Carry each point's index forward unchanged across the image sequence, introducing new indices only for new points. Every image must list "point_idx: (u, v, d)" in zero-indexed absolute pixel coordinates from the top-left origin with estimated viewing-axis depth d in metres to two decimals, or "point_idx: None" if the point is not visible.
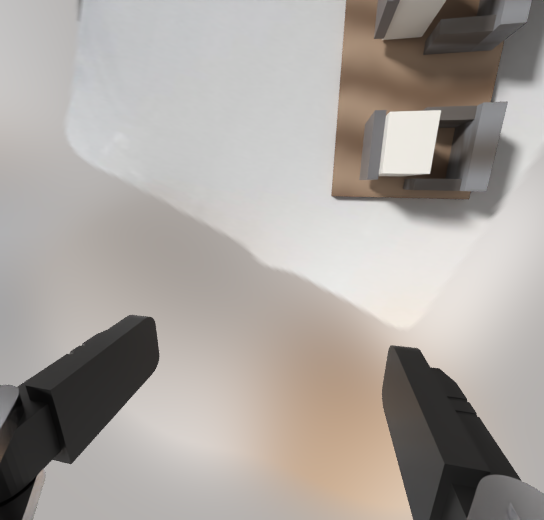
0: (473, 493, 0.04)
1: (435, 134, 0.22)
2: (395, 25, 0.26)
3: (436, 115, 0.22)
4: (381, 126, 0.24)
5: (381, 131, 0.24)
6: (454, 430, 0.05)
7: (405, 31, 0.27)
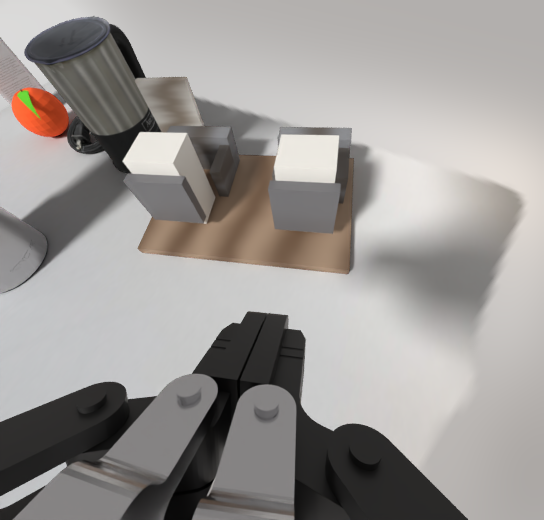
0: None
1: (301, 135, 0.23)
2: (200, 203, 0.29)
3: (285, 136, 0.23)
4: (284, 183, 0.22)
5: (289, 183, 0.22)
6: (264, 363, 0.07)
7: (207, 202, 0.30)
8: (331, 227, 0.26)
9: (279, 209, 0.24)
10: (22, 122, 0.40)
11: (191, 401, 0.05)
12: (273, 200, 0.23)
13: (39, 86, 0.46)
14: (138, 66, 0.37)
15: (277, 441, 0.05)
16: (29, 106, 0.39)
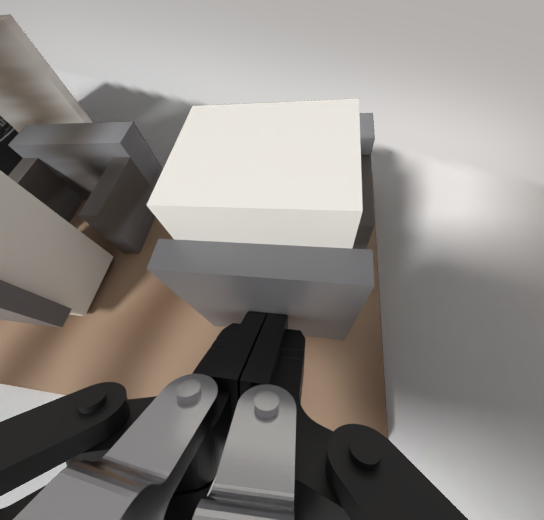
0: None
1: (248, 105, 0.08)
2: (53, 286, 0.13)
3: (201, 111, 0.08)
4: (199, 248, 0.07)
5: (213, 248, 0.07)
6: (264, 363, 0.07)
7: (83, 274, 0.15)
8: (341, 333, 0.11)
9: (205, 303, 0.09)
10: None
11: (191, 400, 0.05)
12: (179, 289, 0.08)
13: None
14: None
15: (277, 441, 0.05)
16: None
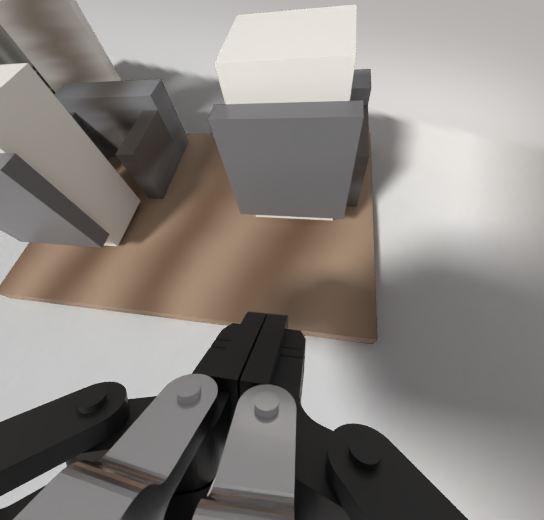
0: None
1: (278, 12, 0.11)
2: (95, 212, 0.16)
3: (244, 17, 0.11)
4: (243, 107, 0.11)
5: (254, 106, 0.11)
6: (264, 363, 0.07)
7: (117, 209, 0.17)
8: (341, 206, 0.14)
9: (240, 171, 0.13)
10: None
11: (191, 401, 0.05)
12: (225, 149, 0.12)
13: None
14: None
15: (277, 441, 0.05)
16: None
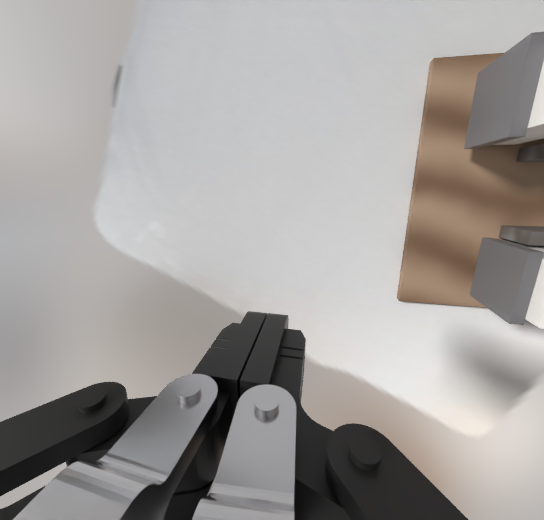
0: None
1: None
2: None
3: None
4: (535, 269, 0.20)
5: (534, 274, 0.20)
6: (264, 363, 0.07)
7: (502, 142, 0.23)
8: (475, 296, 0.26)
9: (502, 253, 0.22)
10: None
11: (191, 400, 0.05)
12: (514, 251, 0.21)
13: None
14: None
15: (277, 441, 0.05)
16: None
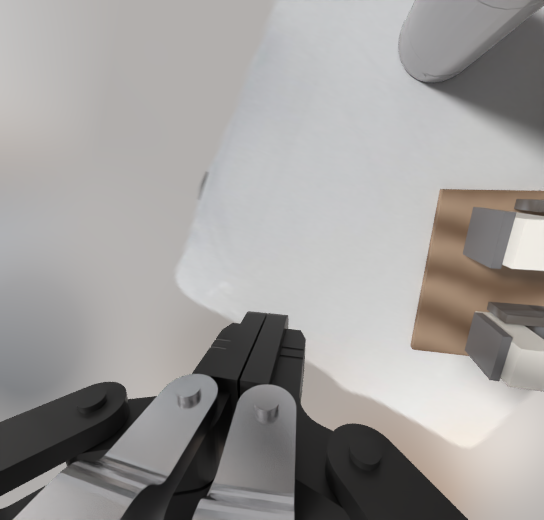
0: None
1: None
2: None
3: None
4: (506, 347, 0.30)
5: (506, 350, 0.30)
6: (264, 363, 0.07)
7: None
8: (468, 353, 0.36)
9: (487, 330, 0.33)
10: None
11: (191, 401, 0.05)
12: (494, 332, 0.31)
13: None
14: None
15: (277, 441, 0.05)
16: None
